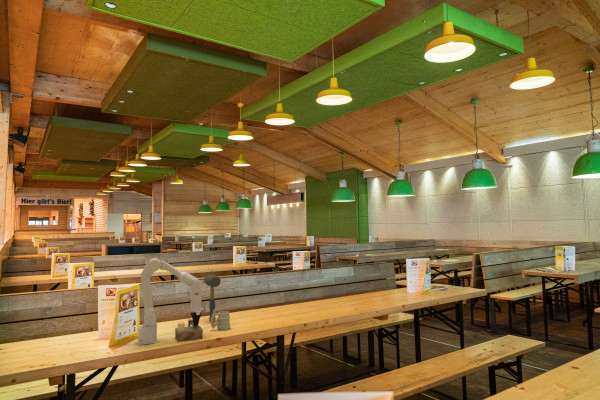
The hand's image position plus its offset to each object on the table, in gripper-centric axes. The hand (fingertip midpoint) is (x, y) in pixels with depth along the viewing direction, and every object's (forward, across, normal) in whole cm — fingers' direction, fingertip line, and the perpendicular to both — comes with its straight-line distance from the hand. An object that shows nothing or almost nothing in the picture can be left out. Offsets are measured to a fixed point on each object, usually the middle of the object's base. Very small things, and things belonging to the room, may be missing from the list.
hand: (196, 325), depth 214 cm
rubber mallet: (+6, +31, -16) cm, 36 cm away
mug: (+6, +9, -16) cm, 20 cm away
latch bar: (+1, +6, 0) cm, 6 cm away
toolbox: (+6, +2, +4) cm, 7 cm away
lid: (+2, -1, +4) cm, 5 cm away
